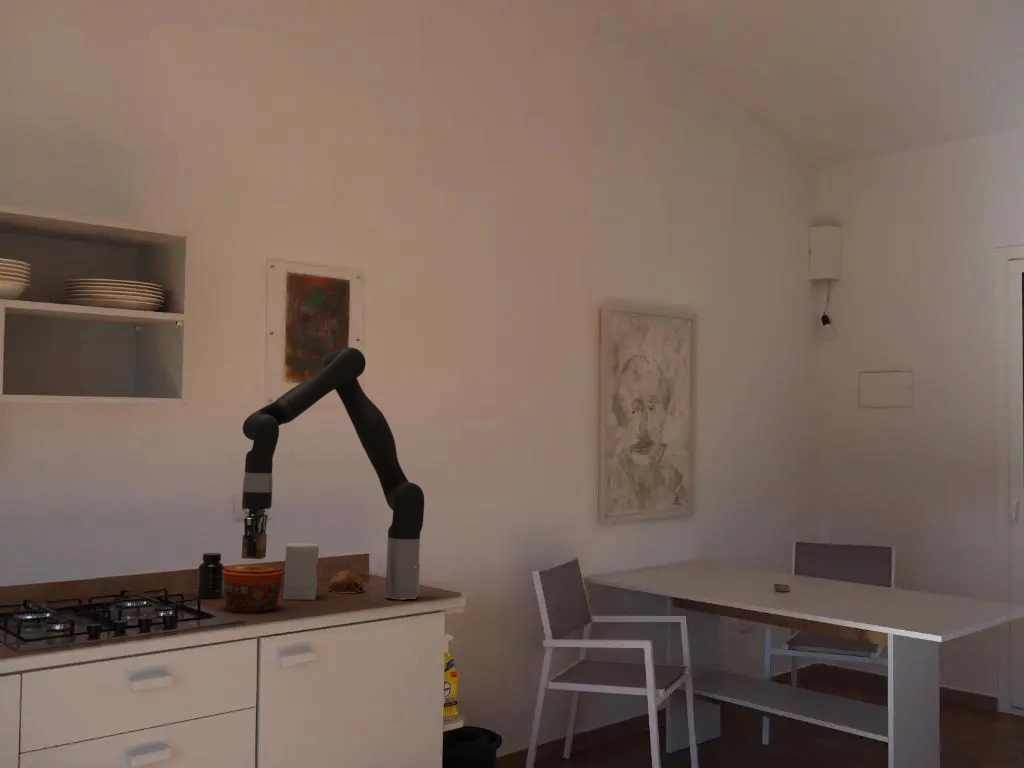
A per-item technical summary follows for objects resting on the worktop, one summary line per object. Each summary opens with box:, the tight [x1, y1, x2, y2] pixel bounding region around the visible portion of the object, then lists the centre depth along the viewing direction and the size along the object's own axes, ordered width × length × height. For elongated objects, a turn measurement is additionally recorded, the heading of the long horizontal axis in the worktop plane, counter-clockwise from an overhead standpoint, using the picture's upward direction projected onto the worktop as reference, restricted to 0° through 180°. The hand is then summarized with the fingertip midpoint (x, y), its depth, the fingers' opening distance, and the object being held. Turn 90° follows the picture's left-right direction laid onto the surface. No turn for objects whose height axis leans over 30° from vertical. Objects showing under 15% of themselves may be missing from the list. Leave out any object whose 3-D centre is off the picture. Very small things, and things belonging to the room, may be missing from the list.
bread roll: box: [328, 570, 365, 592], centre depth 294 cm, size 10×10×8 cm
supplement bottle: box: [196, 552, 225, 600], centre depth 275 cm, size 7×7×12 cm
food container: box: [222, 563, 285, 614], centre depth 259 cm, size 16×16×11 cm
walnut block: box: [241, 533, 268, 560], centre depth 259 cm, size 5×5×6 cm
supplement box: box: [282, 542, 320, 601], centre depth 280 cm, size 9×9×15 cm
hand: (254, 555), depth 259 cm, fingers closed on walnut block, 5 cm apart
